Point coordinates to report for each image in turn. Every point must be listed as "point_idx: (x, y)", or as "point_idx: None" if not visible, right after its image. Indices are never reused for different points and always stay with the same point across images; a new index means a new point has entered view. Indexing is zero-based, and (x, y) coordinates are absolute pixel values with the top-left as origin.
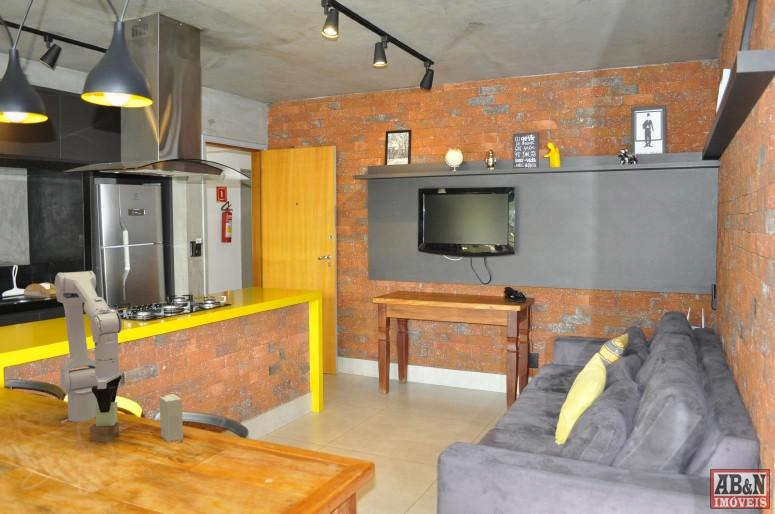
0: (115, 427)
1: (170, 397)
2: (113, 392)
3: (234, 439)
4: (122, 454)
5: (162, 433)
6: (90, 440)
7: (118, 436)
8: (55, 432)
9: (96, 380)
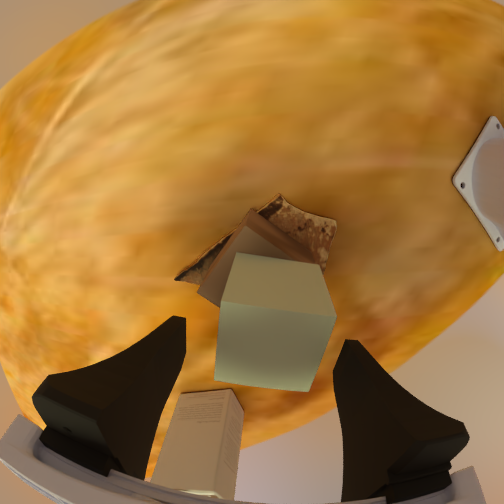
0: None
1: None
2: (346, 416)
3: None
4: (140, 301)
5: (213, 403)
6: (250, 210)
7: None
8: (426, 87)
9: (85, 487)
